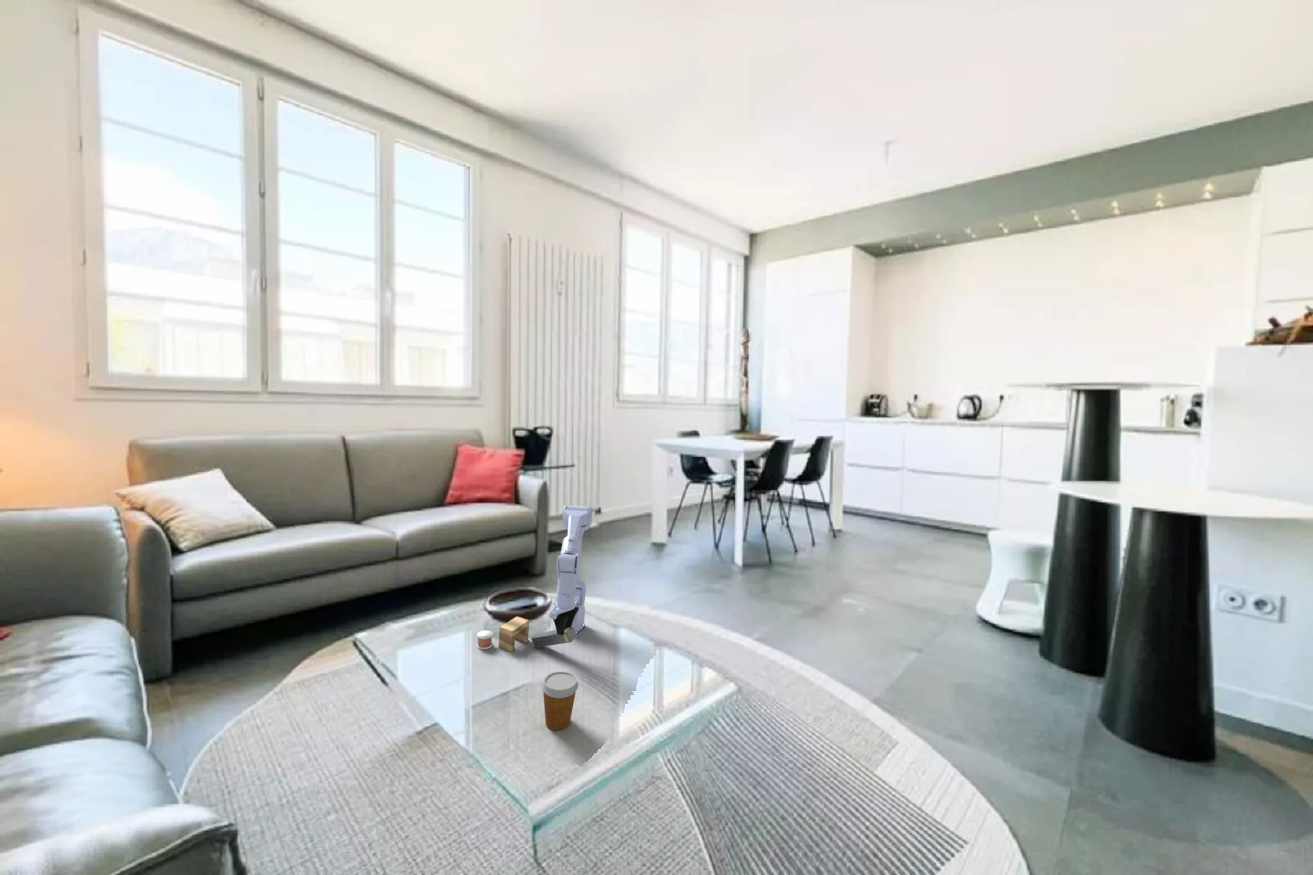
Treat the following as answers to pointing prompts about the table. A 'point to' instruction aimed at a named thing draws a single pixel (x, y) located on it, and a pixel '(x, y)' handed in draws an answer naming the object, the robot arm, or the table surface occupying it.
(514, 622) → the wooden u-shaped cradle
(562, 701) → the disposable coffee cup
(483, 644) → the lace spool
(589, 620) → the table surface
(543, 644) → the dark grey bar
